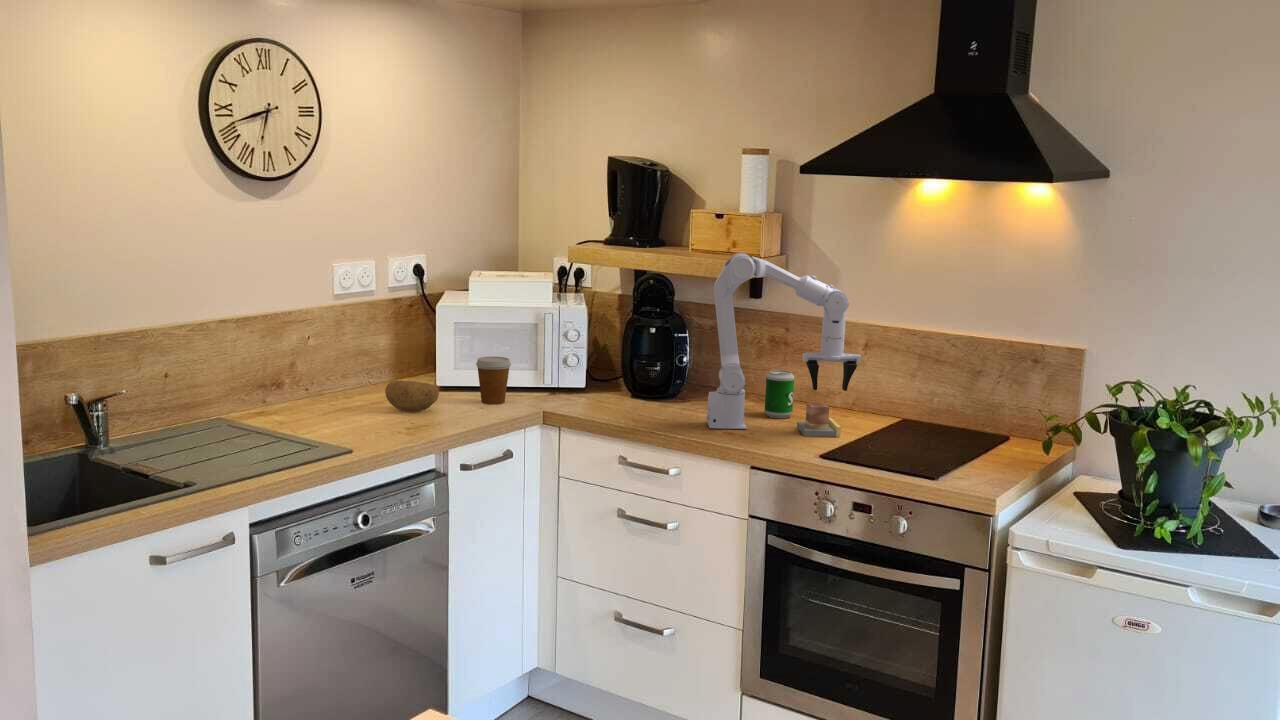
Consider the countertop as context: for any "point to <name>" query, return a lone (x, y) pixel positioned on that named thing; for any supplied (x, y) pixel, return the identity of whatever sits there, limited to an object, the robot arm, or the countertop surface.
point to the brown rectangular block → (817, 415)
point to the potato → (411, 395)
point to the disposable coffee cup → (493, 378)
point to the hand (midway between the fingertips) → (829, 389)
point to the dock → (820, 430)
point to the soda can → (779, 394)
